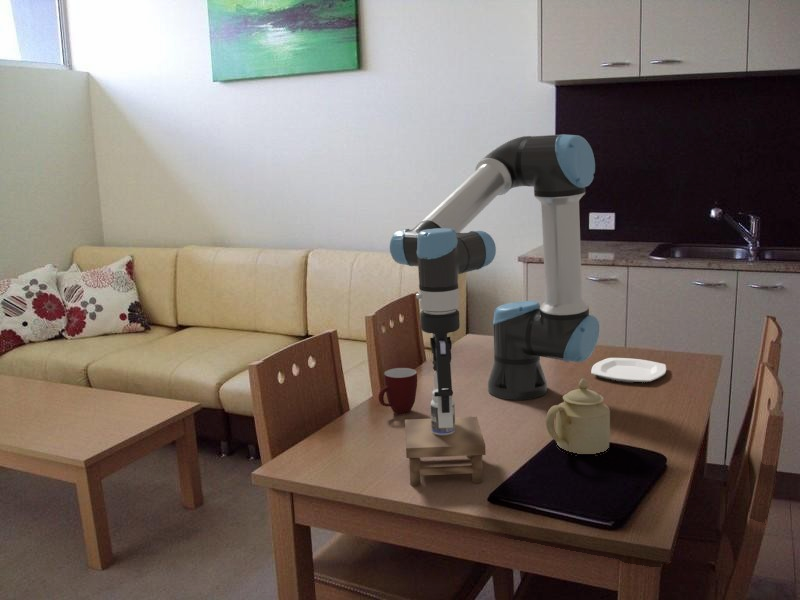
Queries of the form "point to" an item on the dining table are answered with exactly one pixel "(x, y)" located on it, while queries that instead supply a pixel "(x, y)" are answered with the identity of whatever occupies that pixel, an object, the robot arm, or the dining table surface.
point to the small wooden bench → (444, 448)
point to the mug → (399, 389)
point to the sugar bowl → (580, 421)
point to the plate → (628, 369)
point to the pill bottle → (434, 418)
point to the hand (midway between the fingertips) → (443, 414)
